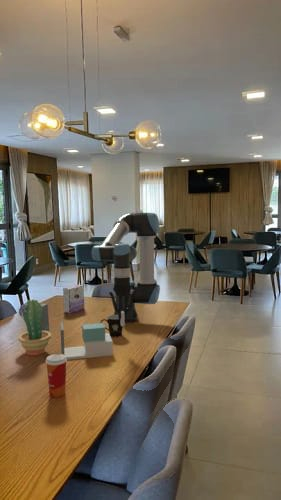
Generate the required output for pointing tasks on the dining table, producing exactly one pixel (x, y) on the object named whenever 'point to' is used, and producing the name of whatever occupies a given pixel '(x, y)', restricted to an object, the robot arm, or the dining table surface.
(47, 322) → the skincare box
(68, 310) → the candy box
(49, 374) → the paper cup
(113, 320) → the coffee mug
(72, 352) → the display stand
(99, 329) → the carton
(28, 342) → the potted cactus
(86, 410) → the dining table surface
